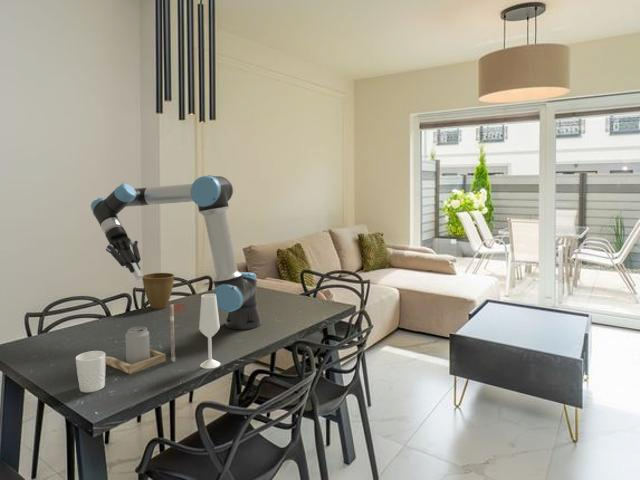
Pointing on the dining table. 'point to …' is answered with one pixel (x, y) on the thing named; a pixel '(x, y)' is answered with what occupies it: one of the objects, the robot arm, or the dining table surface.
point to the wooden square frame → (154, 355)
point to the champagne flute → (209, 325)
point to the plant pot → (158, 289)
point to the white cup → (91, 371)
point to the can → (137, 345)
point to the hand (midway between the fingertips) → (139, 277)
